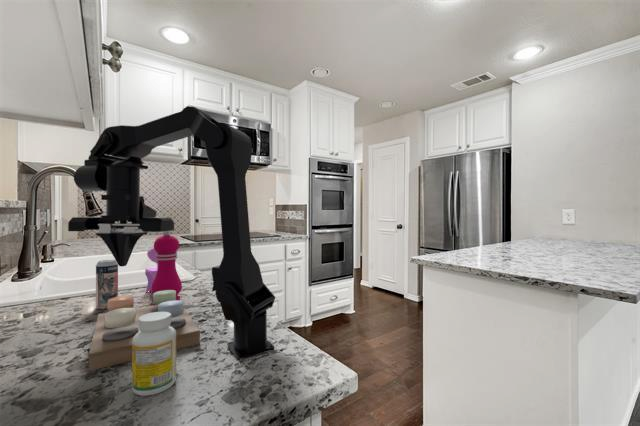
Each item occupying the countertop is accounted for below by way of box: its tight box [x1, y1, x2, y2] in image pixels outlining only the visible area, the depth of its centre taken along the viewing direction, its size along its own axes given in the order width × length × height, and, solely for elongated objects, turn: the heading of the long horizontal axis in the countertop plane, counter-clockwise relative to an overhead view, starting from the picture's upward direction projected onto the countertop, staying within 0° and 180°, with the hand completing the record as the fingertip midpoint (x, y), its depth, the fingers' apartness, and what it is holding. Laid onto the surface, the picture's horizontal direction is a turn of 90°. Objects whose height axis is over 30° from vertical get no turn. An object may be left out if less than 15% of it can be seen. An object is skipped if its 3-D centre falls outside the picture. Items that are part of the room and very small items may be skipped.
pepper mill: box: [150, 231, 183, 306], centre depth 77 cm, size 7×7×20 cm
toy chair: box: [144, 246, 178, 293], centre depth 89 cm, size 8×9×15 cm
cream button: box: [105, 307, 135, 328], centre depth 51 cm, size 4×4×2 cm
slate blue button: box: [158, 299, 185, 318], centre depth 56 cm, size 4×4×2 cm
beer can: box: [95, 259, 119, 310], centre depth 75 cm, size 5×5×12 cm
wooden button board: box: [88, 305, 201, 372], centre depth 58 cm, size 22×16×3 cm
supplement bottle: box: [131, 312, 177, 397], centre depth 40 cm, size 5×5×10 cm
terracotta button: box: [107, 295, 135, 312], centre depth 59 cm, size 4×4×2 cm
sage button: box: [152, 290, 176, 305], centre depth 64 cm, size 4×4×2 cm
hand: (122, 266), depth 60 cm, fingers closed
